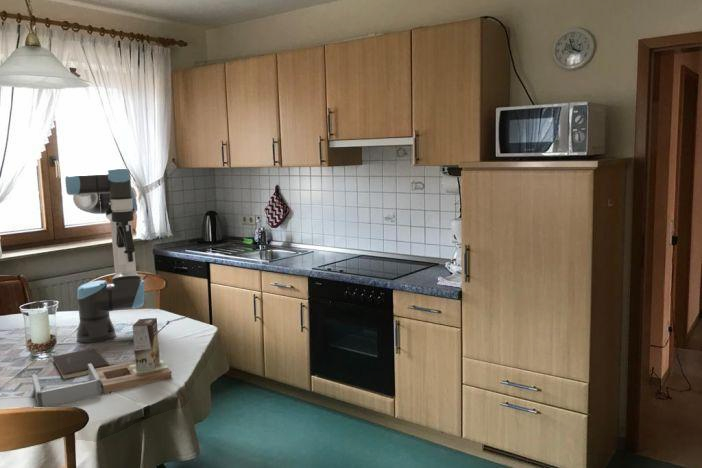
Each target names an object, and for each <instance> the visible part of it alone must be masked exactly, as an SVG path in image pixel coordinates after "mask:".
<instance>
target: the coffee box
mask: <svg viewBox="0 0 702 468" xmlns="http://www.w3.org/2000/svg"><path fill="white" fill-rule="evenodd" d="M157 318H158V317H155V318H154V317H151V318H150V317H149V318H140V319H138V320H137V321H136V322H135V323H134V324H133V325H132V333H133V334H132V337H133V346H134V348H133V349H134V350H133V351H134V359H135V360H134V361H135V363H136V371H143V370H154V369H155V367H156V366H157V364H158V363H159V361H160V359H161V358H160V346H159V333H158V332H159V331H158V319H157Z"/></svg>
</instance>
